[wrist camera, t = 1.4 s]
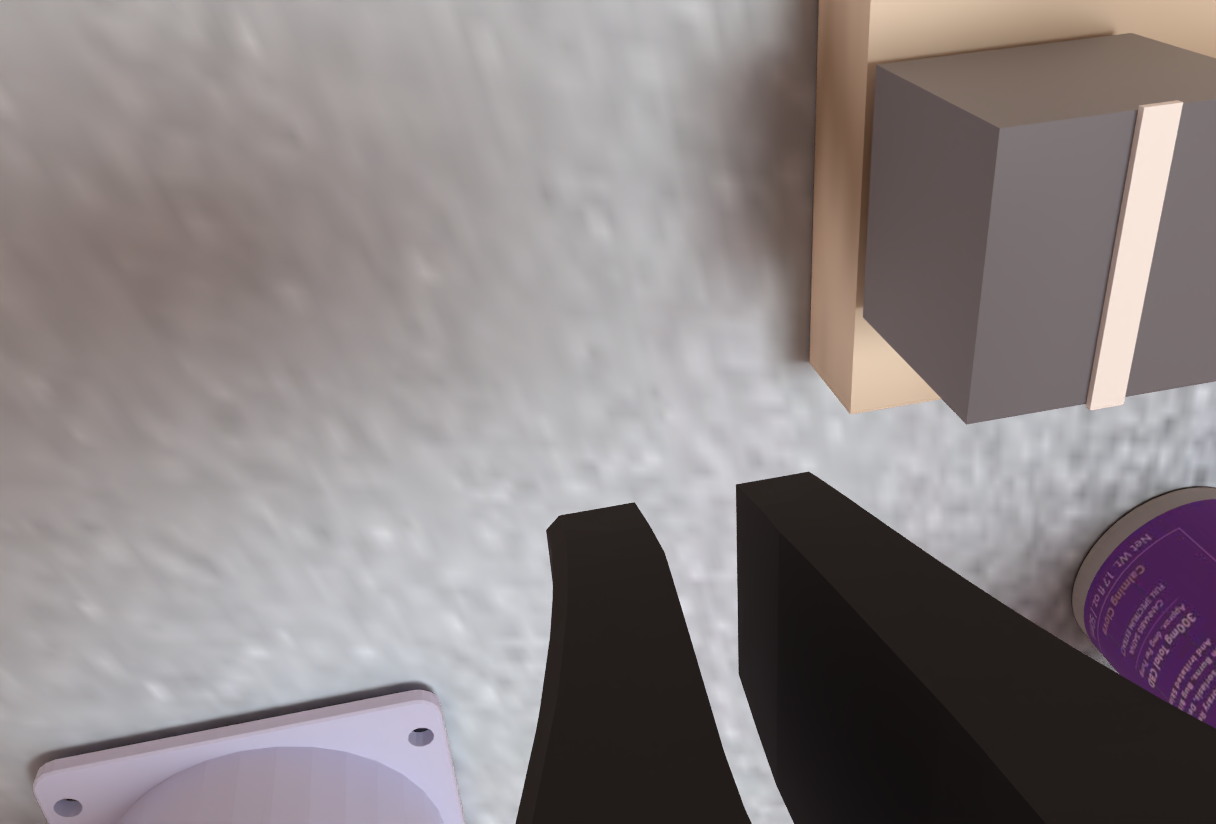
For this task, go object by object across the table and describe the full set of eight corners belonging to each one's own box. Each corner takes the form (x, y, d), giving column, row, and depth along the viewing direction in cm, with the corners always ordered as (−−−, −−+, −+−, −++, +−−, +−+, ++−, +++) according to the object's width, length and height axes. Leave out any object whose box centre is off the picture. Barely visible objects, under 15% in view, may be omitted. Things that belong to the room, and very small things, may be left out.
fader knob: (1089, 284, 18) (1238, 384, 15) (862, 320, 17) (969, 431, 14) (1131, 29, 16) (1316, 84, 13) (876, 60, 15) (1005, 126, 12)
